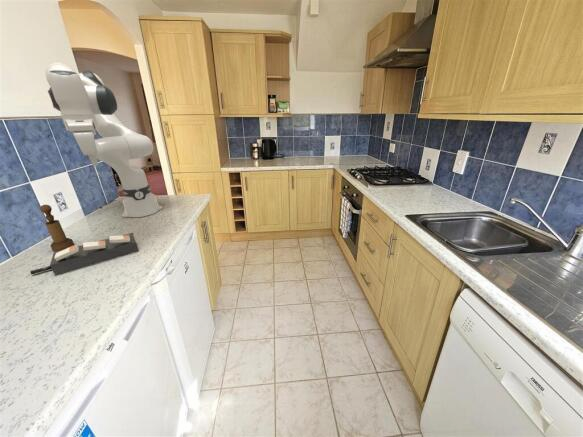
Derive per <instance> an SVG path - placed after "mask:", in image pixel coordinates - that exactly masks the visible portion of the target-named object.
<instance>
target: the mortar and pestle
mask: <svg viewBox="0 0 583 437" xmlns="http://www.w3.org/2000/svg"><path fill="white" fill-rule="evenodd" d="M39 210H40V212H42V213H43V214H45V219H46V220H47V221H48V222H45V223H44V224H45V227H46V229H47V230H48V232H49V233H48V234H49V235H50V238H52V242H51V244H50V248H51V250H52V252H53V253H54V252H58V251H62V250H65V249H67V248H69V247H71V246H74V245H75V242H74V241H73V239H72V238H68V237H67V236H66V233H65V230H64V229H63V227H62V225H61V223H60V220H59V219H55V216H54V215H53V214H52V206H51V205H49V204H42V205H41V206H39Z"/></svg>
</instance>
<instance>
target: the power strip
mask: <svg viewBox="0 0 583 437" xmlns="http://www.w3.org/2000/svg"><path fill="white" fill-rule="evenodd" d="M125 235H129V237H130V242H119V243H110V241H109V238H105V239H103V240H101V241H105V247H106V248H101V249H92V250H83V244H82V245H78V247H79V249H78V252H76V253H74V254H72V255H69V256H67V257H65V258H63V259H60V260H58V261H56V260H55V259H54V258H55V254H56V253H58V252H60V251H58V252H54V251H53V253H52V254H53V255H52V257H51V261H50V264H49V265H48V266H45V267H40V268H37V269H33V270H30V271H29V272H30V273H29V274H31V275H35V274H39V273H42V272H46V271H49V270H52V273H53V274H54V276H58V275H61V274H64V273H65V274H66V273H69V272H72V271H76V270H79V269H83V268H86V267H89V266H93V265H97V264H99V263H102V262H103V263H104V262H107V261H111V260H112V259H117V258H120V257H121V258H122V257H124V256H127V255H131V254H134V253H138V252H139V248H138V244H137V242H136V238H135V235H134V233H133V232H129V233H127V234H125Z"/></svg>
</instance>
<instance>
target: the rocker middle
mask: <svg viewBox="0 0 583 437" xmlns="http://www.w3.org/2000/svg"><path fill="white" fill-rule="evenodd" d="M82 245H83V250H92V249H101V248H106V247H105V241H102V240H99V241H98V240H97V241H88V242H83V244H82Z"/></svg>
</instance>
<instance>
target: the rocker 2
mask: <svg viewBox="0 0 583 437" xmlns="http://www.w3.org/2000/svg"><path fill="white" fill-rule="evenodd" d="M108 237H109V238H108V239H109V241H110V243H119V242H130V237H129V235H126V234H123V235H120V234H119V235H109V236H108Z"/></svg>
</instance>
